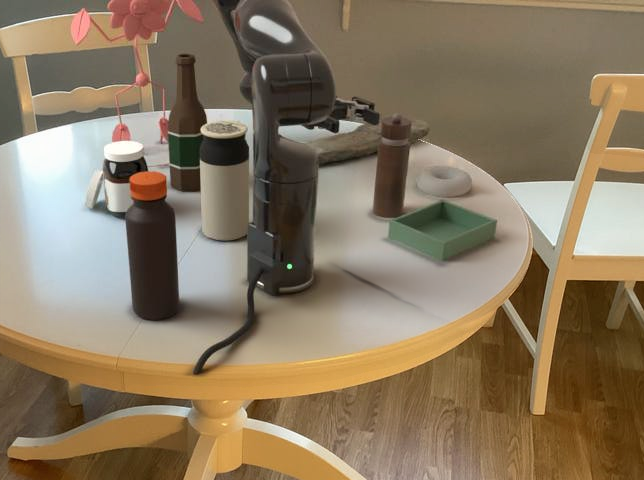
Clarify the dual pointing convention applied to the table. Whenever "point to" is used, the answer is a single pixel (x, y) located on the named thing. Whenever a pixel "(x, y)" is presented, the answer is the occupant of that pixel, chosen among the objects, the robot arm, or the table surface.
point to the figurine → (136, 18)
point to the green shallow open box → (442, 229)
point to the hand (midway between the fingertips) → (358, 123)
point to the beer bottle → (185, 129)
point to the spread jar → (117, 176)
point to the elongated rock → (360, 141)
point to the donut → (444, 181)
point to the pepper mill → (392, 167)
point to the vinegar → (152, 247)
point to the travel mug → (224, 180)
